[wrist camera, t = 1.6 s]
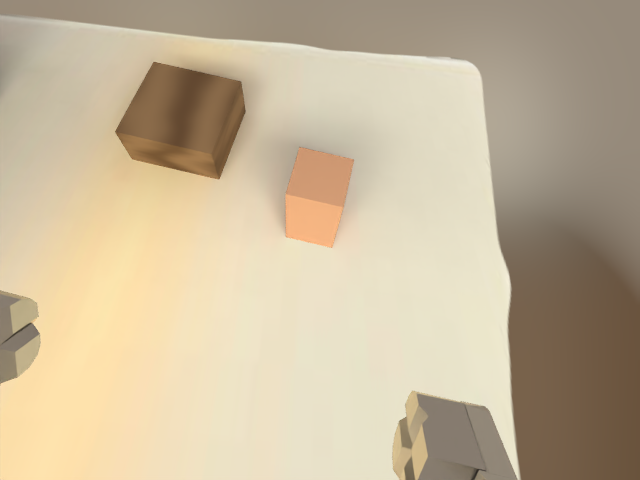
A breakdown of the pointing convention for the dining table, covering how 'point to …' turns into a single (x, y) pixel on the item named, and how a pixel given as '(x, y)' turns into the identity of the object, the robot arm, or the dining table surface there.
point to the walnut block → (183, 120)
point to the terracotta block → (316, 196)
